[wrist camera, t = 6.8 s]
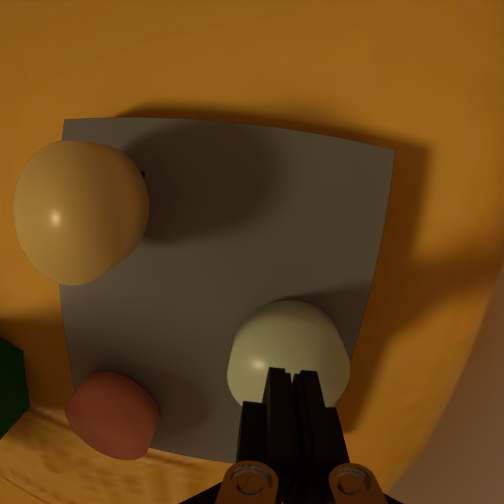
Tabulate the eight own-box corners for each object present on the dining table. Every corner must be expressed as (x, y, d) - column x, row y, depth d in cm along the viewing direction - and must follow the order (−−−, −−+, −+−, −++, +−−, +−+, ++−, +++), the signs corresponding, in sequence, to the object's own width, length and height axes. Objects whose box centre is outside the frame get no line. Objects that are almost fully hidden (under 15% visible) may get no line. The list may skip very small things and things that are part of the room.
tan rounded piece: (80, 146, 14) (16, 142, 9) (174, 149, 14) (130, 140, 9) (76, 245, 15) (16, 273, 10) (164, 259, 15) (122, 297, 10)
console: (92, 125, 16) (64, 119, 13) (374, 153, 16) (395, 150, 13) (100, 403, 21) (84, 427, 18) (306, 439, 21) (309, 468, 18)
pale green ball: (243, 275, 17) (233, 316, 12) (339, 287, 17) (364, 331, 12) (233, 358, 18) (222, 414, 13) (319, 367, 18) (332, 424, 13)
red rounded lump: (95, 341, 18) (57, 383, 14) (170, 358, 18) (144, 410, 14) (104, 399, 20) (75, 444, 15) (170, 417, 20) (151, 468, 15)
